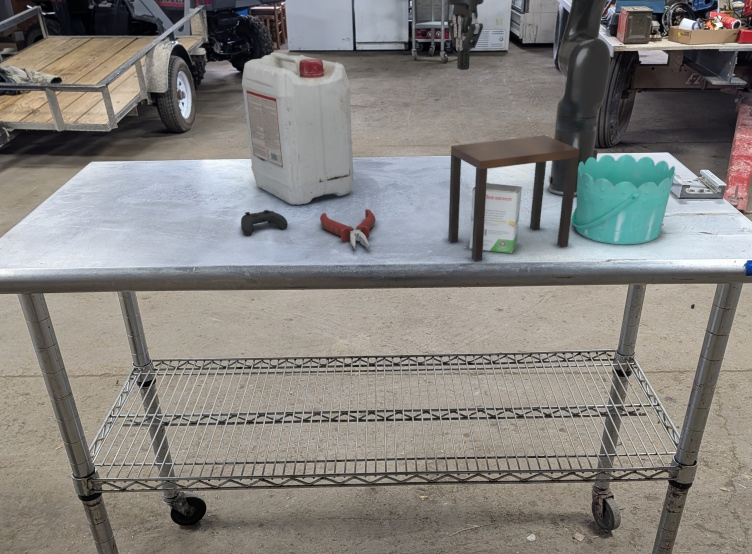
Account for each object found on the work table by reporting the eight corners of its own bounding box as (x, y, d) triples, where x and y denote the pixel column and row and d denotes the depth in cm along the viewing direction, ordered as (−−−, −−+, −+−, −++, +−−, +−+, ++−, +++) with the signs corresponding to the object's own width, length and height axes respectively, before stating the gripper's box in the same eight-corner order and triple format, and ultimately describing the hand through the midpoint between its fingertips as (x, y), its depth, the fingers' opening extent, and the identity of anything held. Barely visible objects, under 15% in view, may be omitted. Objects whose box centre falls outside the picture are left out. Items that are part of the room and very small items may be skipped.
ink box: (468, 249, 139) (471, 188, 133) (475, 240, 143) (478, 180, 137) (512, 254, 136) (517, 192, 130) (517, 244, 141) (522, 184, 134)
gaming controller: (245, 233, 146) (236, 207, 147) (242, 245, 151) (233, 220, 152) (289, 225, 150) (280, 199, 151) (285, 237, 155) (276, 212, 156)
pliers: (332, 256, 137) (332, 243, 135) (319, 223, 153) (318, 211, 152) (391, 251, 139) (391, 238, 137) (371, 218, 155) (371, 207, 154)
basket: (661, 251, 136) (674, 183, 129) (564, 241, 142) (571, 176, 135) (665, 219, 151) (676, 157, 144) (576, 211, 157) (584, 151, 150)
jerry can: (362, 195, 170) (357, 57, 154) (292, 210, 161) (279, 66, 145) (312, 173, 187) (303, 47, 171) (247, 186, 178) (231, 54, 162)
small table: (535, 227, 149) (544, 135, 139) (567, 246, 139) (579, 149, 129) (448, 240, 143) (451, 145, 133) (475, 261, 134) (480, 161, 124)
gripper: (497, -22, 143) (492, 72, 152) (468, -24, 154) (465, 64, 163) (463, -20, 141) (460, 74, 150) (436, -23, 152) (435, 66, 161)
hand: (463, 69), depth 157 cm, fingers closed
